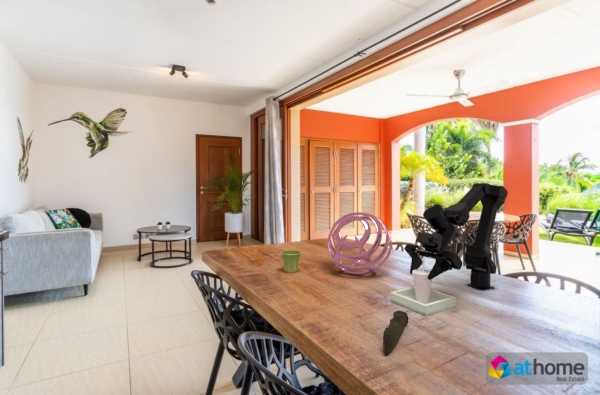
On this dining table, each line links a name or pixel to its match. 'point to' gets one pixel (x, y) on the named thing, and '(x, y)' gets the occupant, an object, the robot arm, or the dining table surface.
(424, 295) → the smoothie
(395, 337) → the hand tool
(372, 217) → the pink openwork sphere
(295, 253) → the plant pot
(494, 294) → the dining table surface
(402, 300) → the sage tray
